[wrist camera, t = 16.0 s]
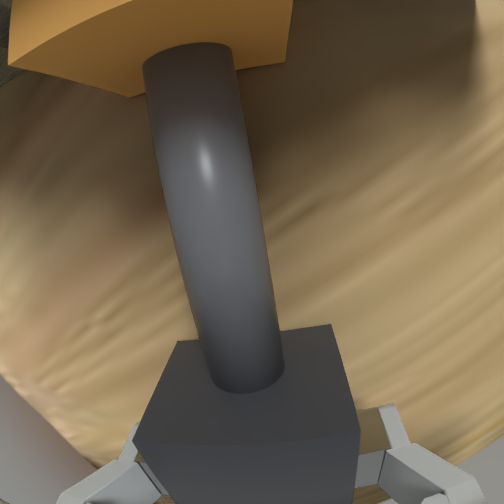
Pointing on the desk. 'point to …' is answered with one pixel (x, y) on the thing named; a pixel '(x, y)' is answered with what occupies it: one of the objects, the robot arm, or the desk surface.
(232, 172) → the plug
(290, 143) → the desk surface
